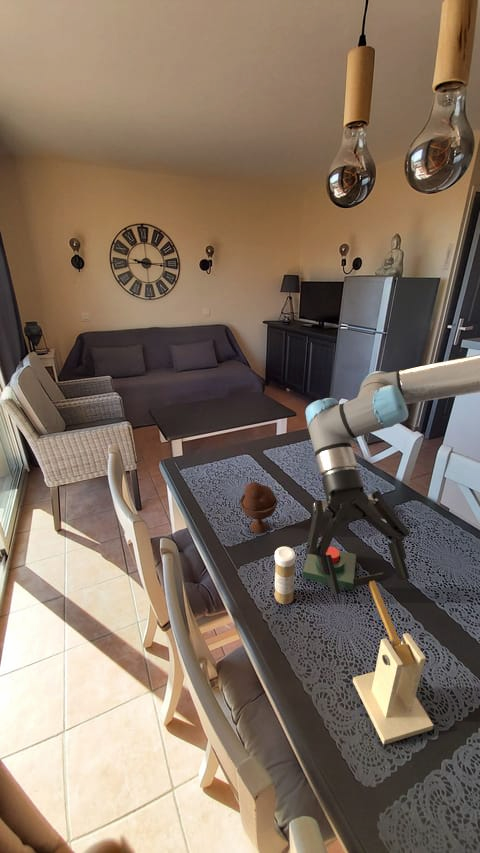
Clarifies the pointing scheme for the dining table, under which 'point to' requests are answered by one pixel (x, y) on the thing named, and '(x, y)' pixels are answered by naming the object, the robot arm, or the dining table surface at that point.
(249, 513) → the ice cream bowl
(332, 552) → the button
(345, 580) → the off panel
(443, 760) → the dining table surface
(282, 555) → the sprinkles bottle
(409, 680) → the wooden lever stand
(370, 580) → the lever
